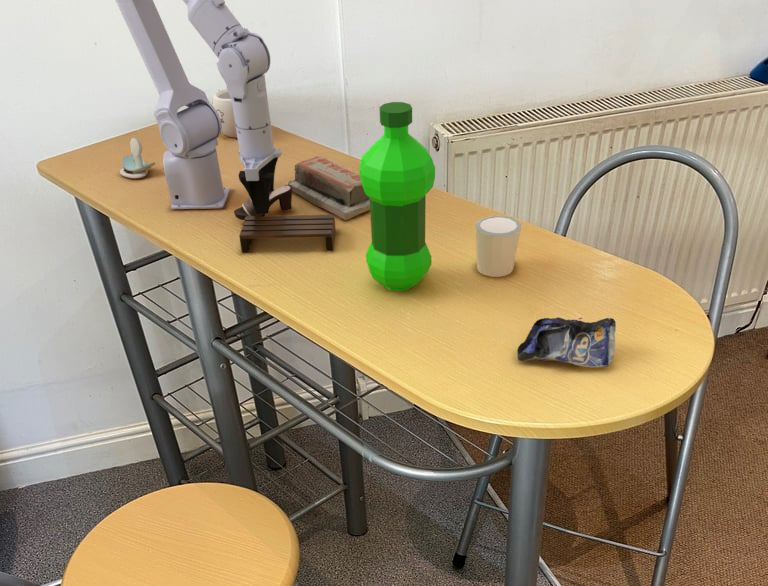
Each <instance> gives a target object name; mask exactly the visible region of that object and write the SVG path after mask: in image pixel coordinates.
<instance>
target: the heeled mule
mask: <svg viewBox="0 0 768 586" xmlns="http://www.w3.org/2000/svg"><path fill="white" fill-rule="evenodd" d="M277 201H278V202H279V208H280V211H281V212H286V211H291V210H292V203H293V191H292V186H291V185H288V184H284V185H281V186H278V187H277V188H275V189H274V190H273V191H271V192H270V193H269V209H270V208H271V206H273V204H275V203H276V202H277ZM233 214H234V216H235V218H236V219H237V220H241V221H245V217H246V216H266V214H257V213H256V211H255V209H254V206H253V204H252V201H251V199H250V197H249V198H248V199H247V200H245V202H243V203H241V207H238V208H236V209H234V210H233Z"/></svg>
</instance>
